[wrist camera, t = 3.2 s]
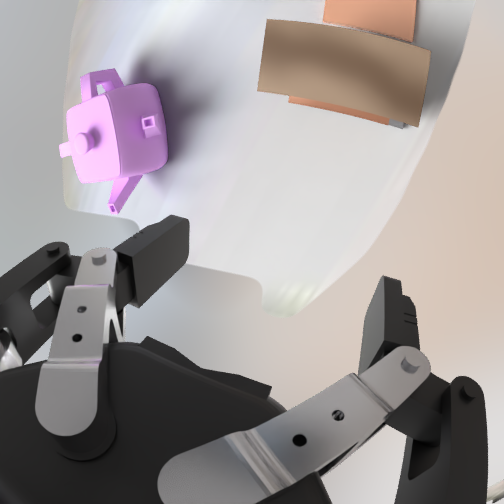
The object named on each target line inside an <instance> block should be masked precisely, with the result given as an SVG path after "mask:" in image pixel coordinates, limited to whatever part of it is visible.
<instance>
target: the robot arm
mask: <svg viewBox="0 0 504 504" xmlns="http://www.w3.org/2000/svg"><path fill="white" fill-rule="evenodd" d="M189 227H190V225H189V220H188V219H186V218H182V217H178V216H175V215H170V216H168V217H166V218H165V219H163V220H162V221H160V222H159V223H155V224H152V225H149V226H147V227H145V228H144V229H142V230H141V231H139V233H136V234H135V235H133V237H130V238H129V239H127V240H126V241H124V242H123V243H122V244H120V245H118V246H117V247H115V248H114V249H113V250H112V249H110V248H96V249H92V250H90V251H88V252H86V253H85V254H84V255H83V256H82V257H80V256H73V255H70V250H69V246H68V244H66V243H64V242H53V243H49V244H47V245H45V246H43V247H42V248H40V249H39V250H38V251H36V252H35V253H33V254H32V255H30V256H29V257H28V258H26V259H25V260H23V261H22V262H20V263H19V264H18V265H16V266H15V267H14V268H12V269H11V270H9V271H8V272H7V273H5V274H4V275H3V276H2V277H0V504H332V502H331V500H330V498H329V495H328V493H327V491H326V489H325V487H324V484H323V482H322V480H321V477H323V476H324V475H326V474H327V473H329V472H330V471H331V470H333V469H334V468H335V467H337V466H338V465H339V464H341V463H342V462H343V461H344V460H345V459H347V458H348V457H349V456H350V455H351V454H353V453H354V452H355V451H356V450H358V449H359V448H360V447H361V446H363V445H364V444H365V443H366V442H367V441H369V440H370V439H371V438H372V437H373V436H374V435H376V434H377V433H378V432H379V431H380V430H381V429H382V428H384V427H385V426H386V425H389V426H391V427H392V428H394V429H396V430H398V431H400V432H402V433H403V434H405V435H407V438H406V445H405V452H404V458H403V464H402V470H401V475H400V480H399V485H398V490H397V494H396V499H395V503H394V504H486V499H487V482H488V438H487V422H486V409H485V400H484V394H483V391H482V389H481V387H480V386H479V385H478V383H477V382H475V381H474V380H472V379H471V378H469V377H466V376H459V377H456V378H455V379H454V380H453V381H452V382H451V383H448V382H446V381H444V380H443V379H441V378H439V377H437V376H436V375H434V374H432V373H431V366H430V362H429V360H428V359H427V357H426V356H425V355H424V354H423V353H422V352H421V351H420V344H419V334H418V326H417V318H416V309H415V306H414V304H413V302H412V301H411V299H410V297H408V296H405V295H402V286H401V281H400V280H397V279H393V278H390V277H387V276H382V277H381V279H380V281H379V283H378V286H377V288H376V291H375V293H374V295H373V298H372V300H371V303H370V305H369V307H368V310H367V313H366V316H365V320H364V328H363V338H362V347H361V355H360V362H359V370H358V376H357V375H356V374H355V373H351V374H349V375H347V376H345V377H344V378H342V379H341V380H339V381H337V382H336V383H334V384H333V385H331V386H329V387H328V388H326V389H325V390H323V391H321V392H320V393H318V394H316V395H315V396H313V397H311V398H309V399H308V400H306V401H304V402H303V403H301V404H299V405H297V406H295V407H294V408H292V409H290V410H288V411H287V410H286V409H285V408H284V407H283V406H282V405H280V404H279V403H278V402H277V401H275V400H274V399H273V398H271V397H269V395H270V391H271V388H272V386H269V385H266V384H263V383H260V382H257V381H254V380H252V379H249V378H246V377H243V376H241V375H237V374H231V373H225V372H218V371H213V370H207V369H203V368H200V367H199V366H197V365H196V364H194V363H193V362H192V361H190V360H189V359H188V358H186V357H185V356H184V355H182V354H181V353H180V352H178V351H177V350H176V349H175V348H172V347H170V346H168V345H166V344H164V343H161V342H159V341H157V340H155V339H153V338H151V337H149V336H147V337H146V338H145V339H144V340H143V341H142V342H141V343H140V344H139V343H133V342H125V320H126V319H125V318H126V311H125V306H126V305H127V304H131V305H133V306H135V307H137V308H140V307H141V306H142V305H143V304H144V303H145V302H146V301H147V300H148V299H149V298H150V297H151V296H152V295H153V294H154V293H155V292H156V291H157V290H158V289H159V288H160V287H161V286H162V285H163V284H164V283H165V282H166V281H168V280H169V279H170V278H171V277H172V276H173V275H174V274H175V273H176V272H177V271H178V270H179V269H180V268H181V267H182V266H183V265H184V264H185V263H186V261H187V258H188V255H189ZM45 283H46V284H47V287H48V290H49V293H50V295H49V296H48V297H47V298H46V299H45V300H44V301H42V302H41V303H40V304H39V305H38V306H37V307H35V308H34V309H33V310H32V307H31V305H30V299H31V295H32V294H33V293H34V292H35V291H36V290H38V289H39V288H40V287H41V286H42V285H44V284H45ZM52 335H53V339H52V343H51V348H50V353H49V358H48V360H44V361H40V362H36V363H32V364H27V365H24V364H25V363H26V362H27V361H28V359H29V358H30V357H31V356H32V355H33V354H34V353H35V352H36V351H37V350H38V349H39V348H40V347H41V346H42V345H43V344H44V343H45V342H46V341H47V340H48V339H49V338H50V337H51V336H52Z"/></svg>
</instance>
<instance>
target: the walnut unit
mask: <svg viewBox="0 0 504 504" xmlns="http://www.w3.org/2000/svg"><path fill="white" fill-rule="evenodd" d="M430 56H431V51H429V50H426V49H423V48H420V47H417V46H414V45H411V44H408V43H404V42H401V41H397V40H394V39H390V38H386V37H383V36H379V35H374V34H370V33H366V32H361V31H356V30H351V29H346V28H341V27H335V26H328V25H322V24H314V23H306V22H297V21H286V20H272V19H267V23H266V30H265V37H264V44H263V51H262V59H261V66H260V74H259V81H258V89H257V91H260V92H268V93H275V94H282V95H288V96H289V102H288V103H294V104H300V105H305V106H311V107H316V108H321V109H325V110H330V111H334V112H339V113H343V114H347V115H351V116H355V117H359V118H363V119H367V120H371V121H374V122H378V123H381V124H385V125H391V126H394V127H397V128H401V129H403V125H404V123H406V124H409V125H412V126H415V127H418V126H419V122H420V117H421V112H422V107H423V101H424V96H425V90H426V84H427V78H428V71H429V64H430Z"/></svg>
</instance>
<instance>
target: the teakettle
mask: <svg viewBox="0 0 504 504" xmlns="http://www.w3.org/2000/svg"><path fill="white" fill-rule="evenodd" d="M80 79H81V93H82V103H80V104H78V105H76V106H74V107H73V108H71V109H69V110H68V112H67V128H68V136H69V142H66V143H63V144H60V145H59V148H60V153H61V157H65V156H69V155H72V157H73V161H74V165H75V169H76V172H77V175H78V178H79V180H80V181H81V182H82V183H92V182H101V181H109V180H114V183H113V187H112V191H111V195H110V199H109V203H108V207H109V209H110V212H111V214H118V213H119V212H120V210H121V209H122V207H123V205H124V204H125V202H126V201H127V199H128V197H129V196H130V194H131V193H132V191H133V190H134V188H135V187H136V185H137V184H138V182H139V181H140V179H141V178H142V176H143V175H142V174H145V173H149V172H152V171H155V170H157V169H160V168H161V167H162V166H163V165H164V164H165V163H166V162H167V160H168V144H167V132H166V124H165V118H164V114H163V109H162V105H161V101H160V97H159V94H158V91H157V89H156V87H154V86H153V85H151V84H148V83H139V84H132V85H127V86H124V84H123V82H122V81H121V79H120V77H119V75H118V73H117V71H116V70H115V68H114V69H108V70H102V71H96V72H90V73H88V74H86V75H84V76H82V77H80ZM100 84H102V86H103V88H104V89H105V91H106V92H105V93H102V94H100V95H98V92H97V87H96V85H100Z"/></svg>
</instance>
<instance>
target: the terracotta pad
mask: <svg viewBox="0 0 504 504" xmlns="http://www.w3.org/2000/svg"><path fill="white" fill-rule="evenodd" d="M415 14H416V0H326V1H325V9H324V16H323V22H324V23H329V24H335V25H341V26H346V27H352V28H357V29H361V30H366V31H371V32H375V33H379V34H383V35H387V36H391V37H394V38H398V39H401V40H405V41H408V42H411V43H412V42H413V35H414V25H415Z"/></svg>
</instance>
